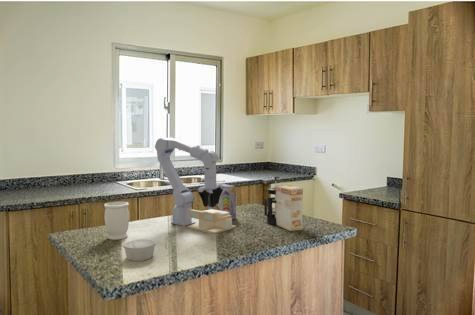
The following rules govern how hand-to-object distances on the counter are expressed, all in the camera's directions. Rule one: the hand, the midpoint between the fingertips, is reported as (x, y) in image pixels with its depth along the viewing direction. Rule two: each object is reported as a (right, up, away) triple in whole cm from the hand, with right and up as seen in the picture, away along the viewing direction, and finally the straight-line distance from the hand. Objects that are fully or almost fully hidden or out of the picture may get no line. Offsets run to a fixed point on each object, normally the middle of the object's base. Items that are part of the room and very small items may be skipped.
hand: (211, 205), depth 188 cm
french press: (+31, -10, +7) cm, 34 cm away
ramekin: (-23, -14, -43) cm, 51 cm away
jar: (-40, -12, -17) cm, 45 cm away
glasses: (0, -6, -2) cm, 6 cm away
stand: (0, -11, -1) cm, 11 cm away
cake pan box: (+4, -9, +21) cm, 23 cm away
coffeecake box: (+37, -11, -1) cm, 38 cm away
